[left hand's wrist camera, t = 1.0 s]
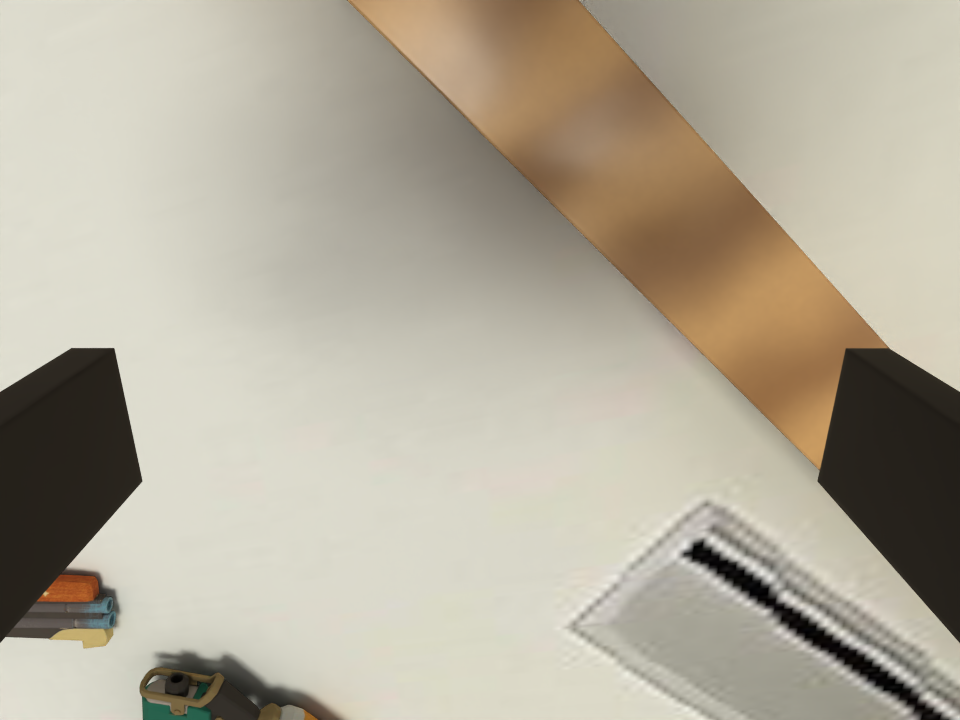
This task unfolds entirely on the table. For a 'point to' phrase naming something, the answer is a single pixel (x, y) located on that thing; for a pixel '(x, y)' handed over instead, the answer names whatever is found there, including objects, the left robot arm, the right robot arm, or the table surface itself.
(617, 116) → the post
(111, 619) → the toy gun
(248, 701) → the spray gun
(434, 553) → the table surface
